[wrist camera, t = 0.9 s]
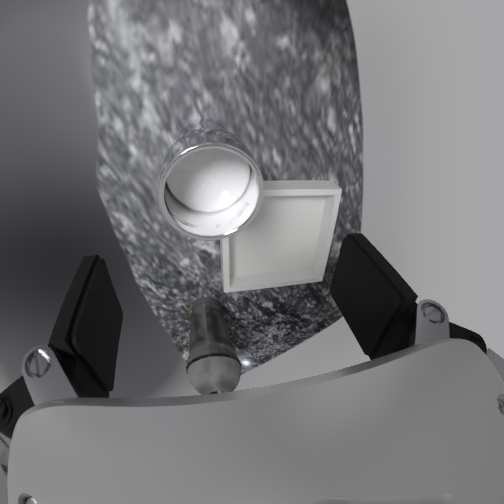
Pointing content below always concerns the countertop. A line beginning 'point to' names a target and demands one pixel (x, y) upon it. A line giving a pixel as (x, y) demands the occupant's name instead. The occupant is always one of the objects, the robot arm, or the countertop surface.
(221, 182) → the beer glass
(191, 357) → the beverage cup
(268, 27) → the countertop surface
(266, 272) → the tray
